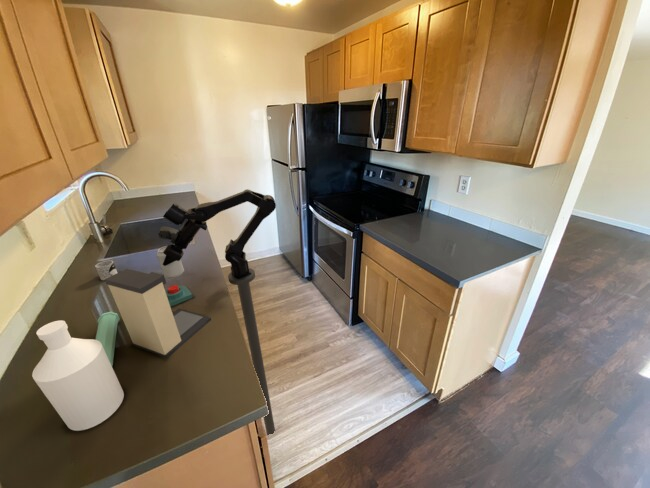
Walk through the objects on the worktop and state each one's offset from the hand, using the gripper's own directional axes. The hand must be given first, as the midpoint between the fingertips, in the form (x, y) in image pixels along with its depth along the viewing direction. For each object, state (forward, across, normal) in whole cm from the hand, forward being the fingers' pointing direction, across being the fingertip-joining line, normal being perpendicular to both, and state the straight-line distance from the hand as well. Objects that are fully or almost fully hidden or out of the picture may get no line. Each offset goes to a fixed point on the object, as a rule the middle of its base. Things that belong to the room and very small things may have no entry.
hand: (166, 260), depth 110 cm
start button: (+6, +8, +9) cm, 13 cm away
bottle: (+14, +53, +5) cm, 55 cm away
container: (+18, +31, 0) cm, 36 cm away
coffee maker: (+5, +29, +13) cm, 33 cm away
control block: (+8, +8, +11) cm, 16 cm away
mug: (+32, -22, -14) cm, 41 cm away
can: (+4, 0, +6) cm, 7 cm away
